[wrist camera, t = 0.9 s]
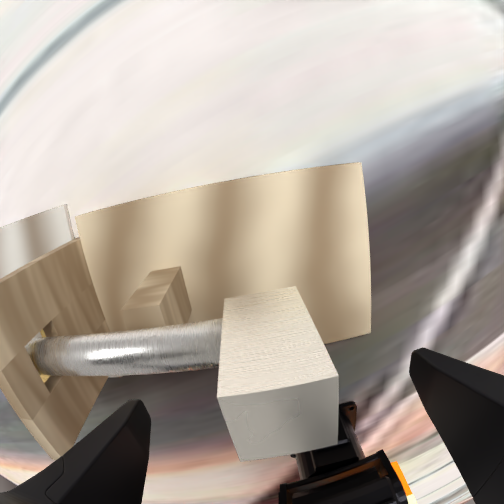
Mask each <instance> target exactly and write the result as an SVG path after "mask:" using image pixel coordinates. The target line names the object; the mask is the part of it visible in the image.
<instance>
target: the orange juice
mask: <svg viewBox="0 0 504 504" xmlns="http://www.w3.org/2000/svg"><path fill="white" fill-rule="evenodd" d="M391 465H392V467H393V468H394V470H395V472H396V473H397V475H398V477H399V479H400V481H401V483H402V485H403V488H404V490H405V493H406V496H407V499H408V504H417V502H416V499H415V497H414V495H413V494H412V492H411V490H410V488H409V486H408V484H407V482H406V479H405V477H404V475H403V473H402V471H401V469H400V467H399V465H398V463H397V462H393V463H391Z"/></svg>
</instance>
